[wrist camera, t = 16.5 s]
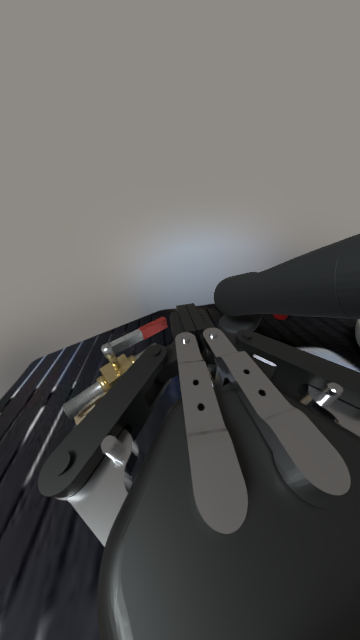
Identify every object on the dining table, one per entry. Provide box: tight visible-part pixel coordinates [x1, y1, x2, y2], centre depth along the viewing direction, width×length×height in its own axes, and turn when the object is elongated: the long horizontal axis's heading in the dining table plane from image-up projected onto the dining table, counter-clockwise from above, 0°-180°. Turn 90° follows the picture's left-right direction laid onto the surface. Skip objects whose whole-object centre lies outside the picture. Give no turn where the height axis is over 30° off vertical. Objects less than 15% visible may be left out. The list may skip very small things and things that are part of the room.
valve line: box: [63, 343, 156, 419], centre depth 45 cm, size 30×7×13 cm, turn 136°
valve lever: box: [101, 317, 167, 358], centre depth 44 cm, size 20×3×3 cm, turn 129°
